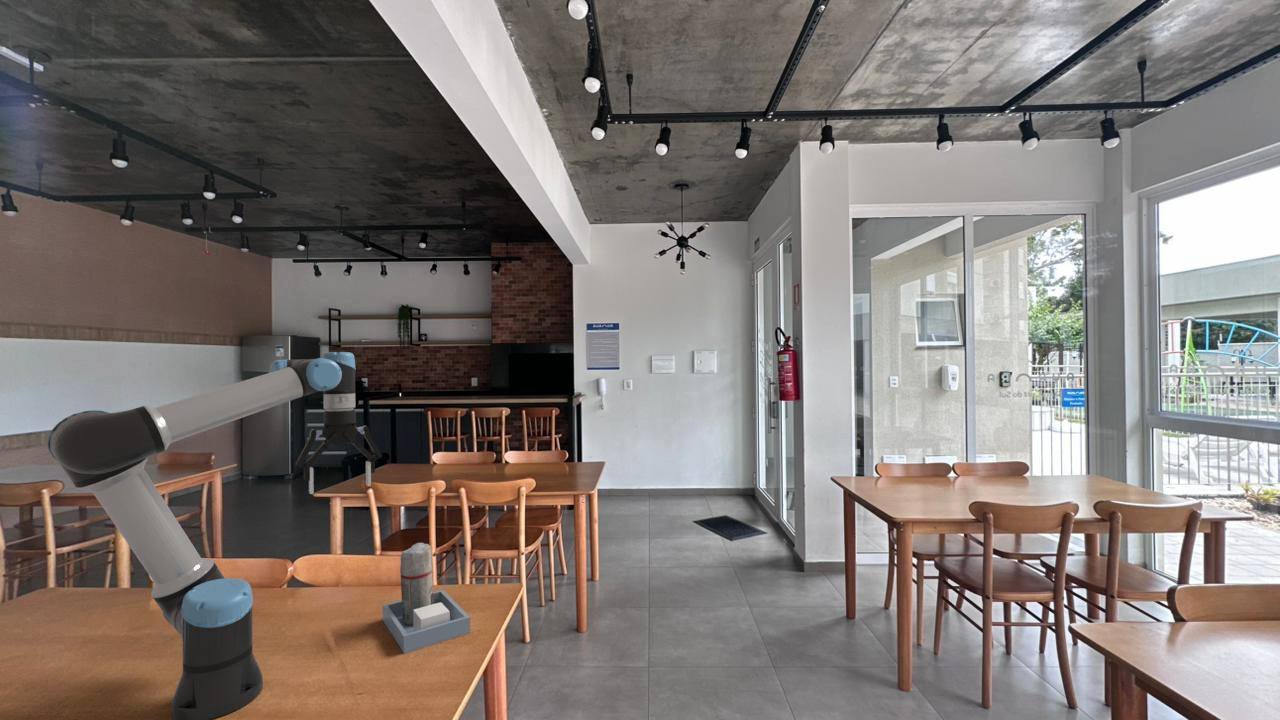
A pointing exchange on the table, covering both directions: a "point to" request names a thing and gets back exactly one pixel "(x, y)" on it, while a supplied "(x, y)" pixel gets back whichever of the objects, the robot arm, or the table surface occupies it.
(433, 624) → the soap bar
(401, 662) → the table surface
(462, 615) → the tote
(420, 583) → the grey banded cylinder
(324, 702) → the table surface
